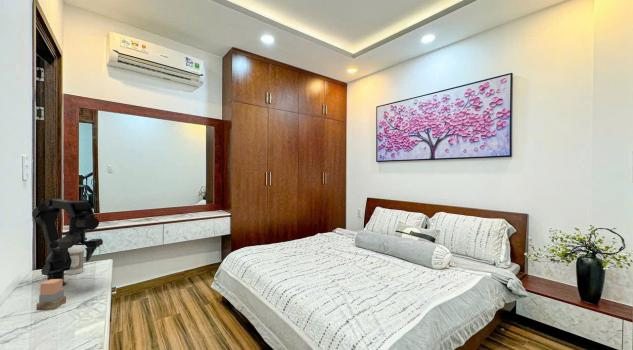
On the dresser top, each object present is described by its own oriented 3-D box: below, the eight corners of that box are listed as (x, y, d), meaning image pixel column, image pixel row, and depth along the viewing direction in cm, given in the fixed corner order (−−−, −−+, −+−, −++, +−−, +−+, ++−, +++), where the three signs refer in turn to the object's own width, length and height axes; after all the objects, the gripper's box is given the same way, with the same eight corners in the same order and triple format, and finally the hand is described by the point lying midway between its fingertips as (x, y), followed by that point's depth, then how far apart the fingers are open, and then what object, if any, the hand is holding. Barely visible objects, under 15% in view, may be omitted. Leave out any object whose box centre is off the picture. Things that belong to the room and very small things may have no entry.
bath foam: (64, 276, 137) (65, 237, 137) (67, 271, 142) (69, 235, 143) (81, 273, 140) (83, 236, 141) (84, 269, 146) (85, 234, 147)
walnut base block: (36, 311, 102) (36, 303, 102) (49, 304, 108) (49, 296, 108) (54, 310, 103) (54, 302, 103) (65, 303, 109) (66, 296, 109)
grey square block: (39, 302, 103) (39, 295, 103) (50, 297, 108) (50, 289, 108) (53, 302, 103) (53, 294, 103) (63, 296, 108) (64, 289, 108)
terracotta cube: (40, 295, 103) (40, 283, 103) (50, 290, 107) (50, 279, 107) (52, 294, 103) (53, 283, 103) (62, 289, 108) (62, 278, 108)
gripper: (38, 231, 111) (37, 268, 111) (88, 231, 115) (87, 267, 114) (59, 227, 122) (58, 260, 122) (104, 226, 126) (102, 259, 125)
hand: (76, 261), depth 121 cm, fingers open, 9 cm apart
